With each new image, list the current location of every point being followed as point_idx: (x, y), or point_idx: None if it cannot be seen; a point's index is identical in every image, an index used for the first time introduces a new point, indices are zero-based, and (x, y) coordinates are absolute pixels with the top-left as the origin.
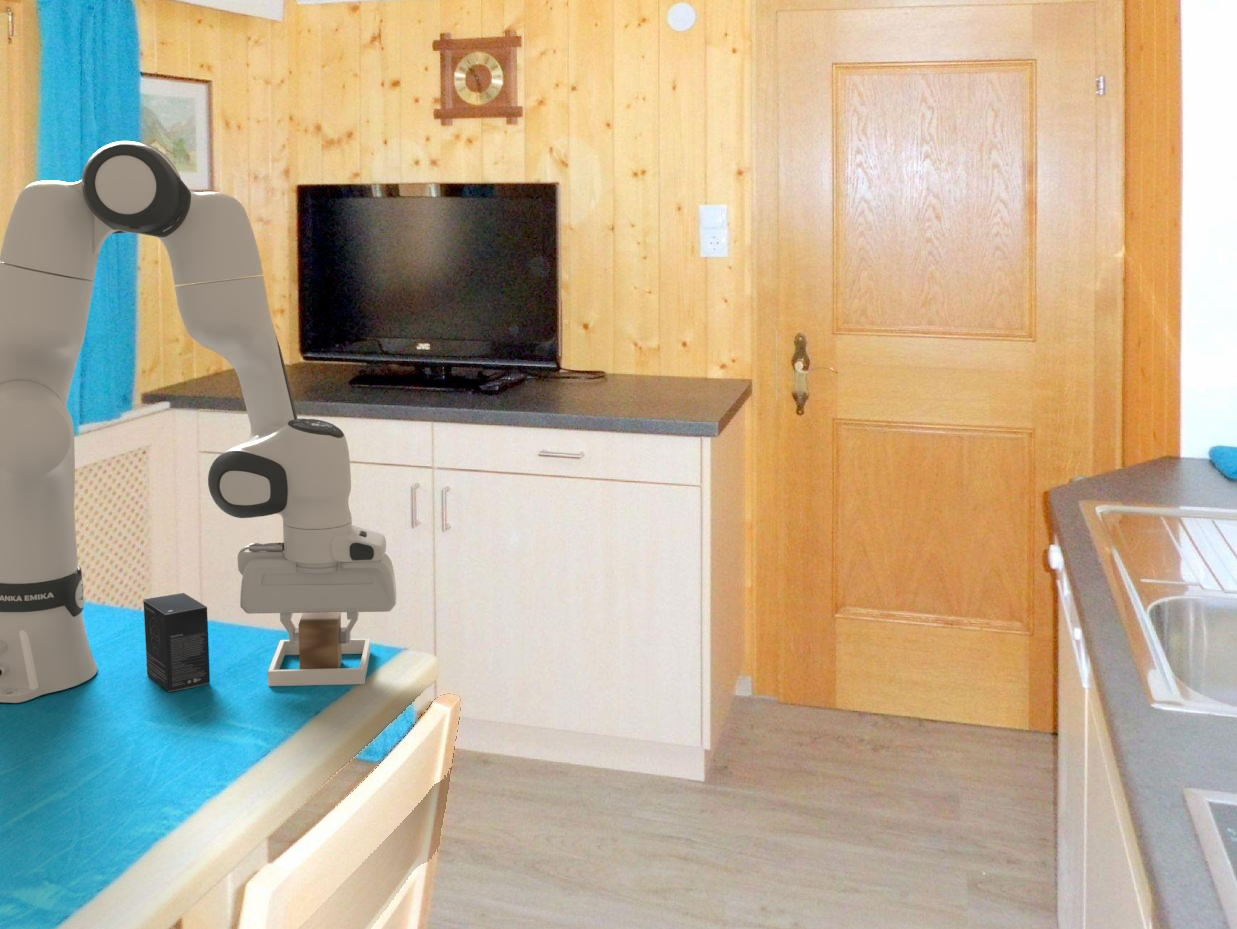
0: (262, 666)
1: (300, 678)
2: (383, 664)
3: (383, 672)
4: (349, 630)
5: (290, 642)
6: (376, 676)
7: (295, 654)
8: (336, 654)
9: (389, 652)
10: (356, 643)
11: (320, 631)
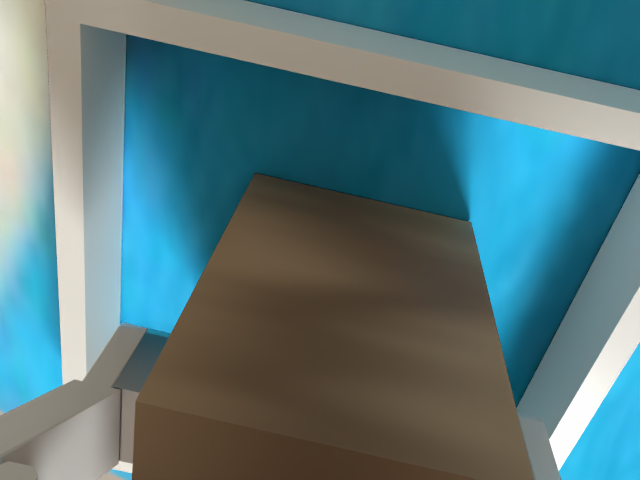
0: (623, 393)
1: (513, 71)
2: (21, 252)
3: (4, 142)
4: (77, 384)
5: (537, 421)
6: (36, 90)
7: None
8: (232, 237)
9: (13, 378)
10: None
11: (319, 387)
